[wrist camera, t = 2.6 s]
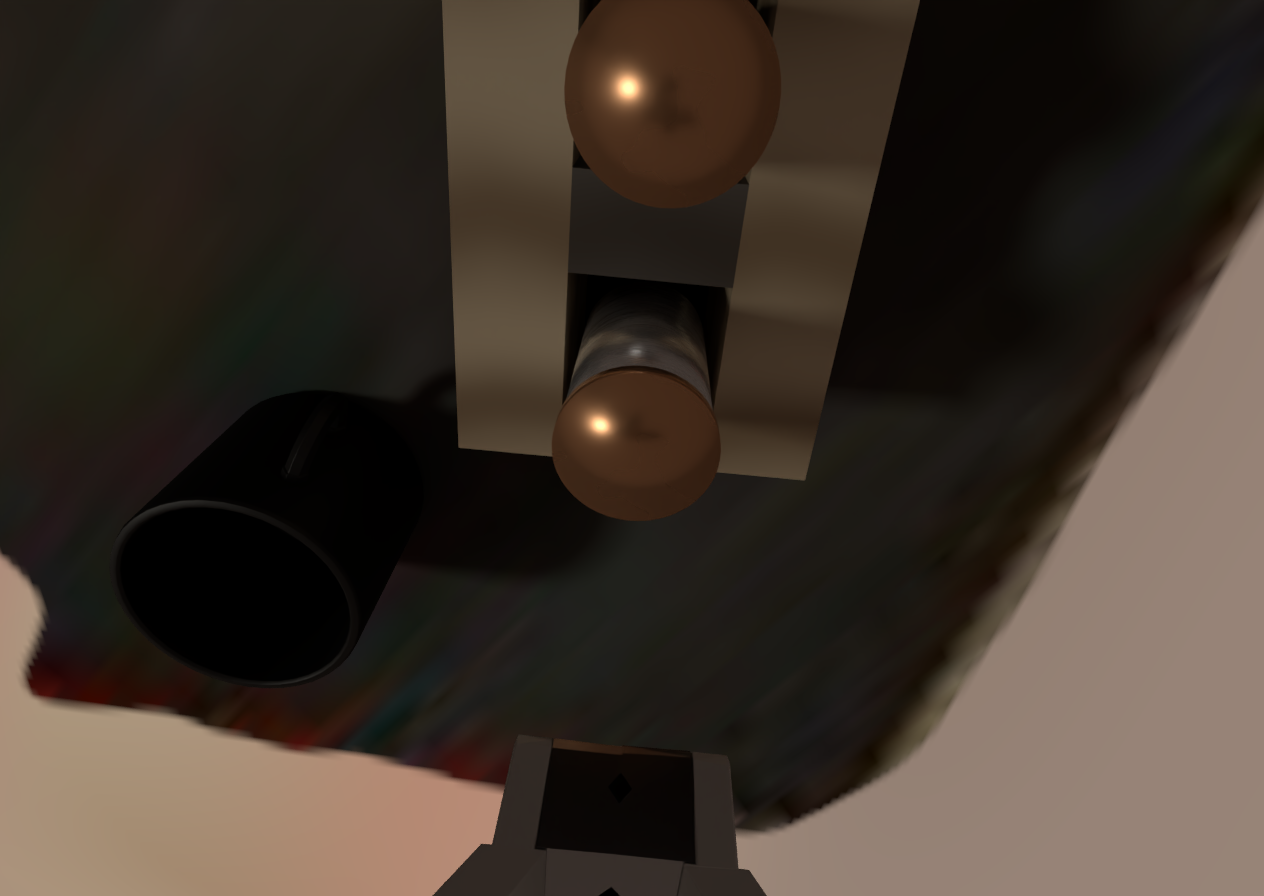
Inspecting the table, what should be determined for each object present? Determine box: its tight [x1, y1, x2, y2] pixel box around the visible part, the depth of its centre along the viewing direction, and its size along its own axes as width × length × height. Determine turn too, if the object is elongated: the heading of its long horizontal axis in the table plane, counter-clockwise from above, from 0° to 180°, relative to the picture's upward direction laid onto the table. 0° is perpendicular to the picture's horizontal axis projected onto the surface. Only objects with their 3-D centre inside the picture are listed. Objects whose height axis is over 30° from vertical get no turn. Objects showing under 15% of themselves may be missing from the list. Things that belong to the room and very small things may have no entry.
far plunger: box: [552, 281, 721, 521], centre depth 22 cm, size 4×4×8 cm
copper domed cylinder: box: [564, 0, 781, 208], centre depth 18 cm, size 4×4×8 cm
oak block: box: [442, 0, 920, 480], centre depth 25 cm, size 16×12×8 cm
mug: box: [110, 393, 423, 688], centre depth 32 cm, size 9×12×9 cm
